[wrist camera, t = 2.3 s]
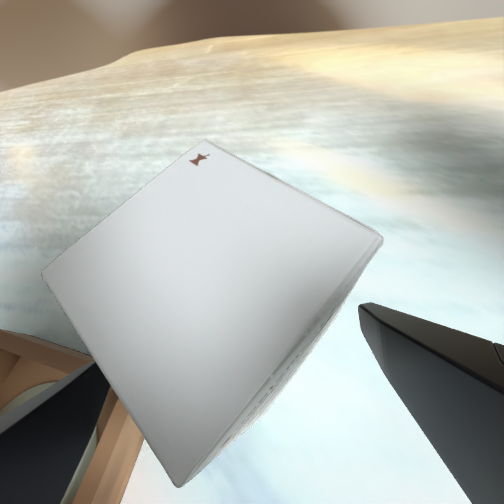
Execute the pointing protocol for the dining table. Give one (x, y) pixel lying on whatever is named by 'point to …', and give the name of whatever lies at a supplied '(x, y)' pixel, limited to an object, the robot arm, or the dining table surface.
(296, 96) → the dining table surface
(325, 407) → the dining table surface
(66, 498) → the tray
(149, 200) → the supplement box
